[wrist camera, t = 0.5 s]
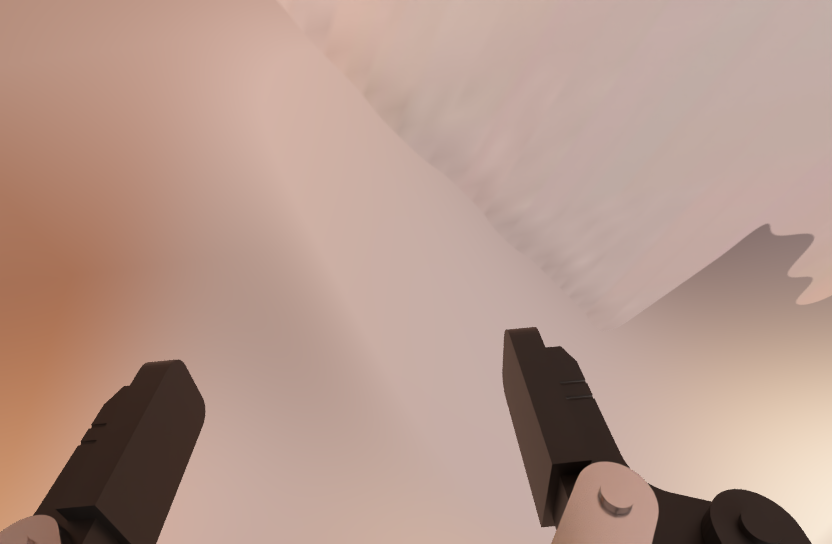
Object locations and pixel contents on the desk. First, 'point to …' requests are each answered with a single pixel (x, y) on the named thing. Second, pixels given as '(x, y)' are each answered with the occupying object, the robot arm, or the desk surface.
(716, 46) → the desk surface
